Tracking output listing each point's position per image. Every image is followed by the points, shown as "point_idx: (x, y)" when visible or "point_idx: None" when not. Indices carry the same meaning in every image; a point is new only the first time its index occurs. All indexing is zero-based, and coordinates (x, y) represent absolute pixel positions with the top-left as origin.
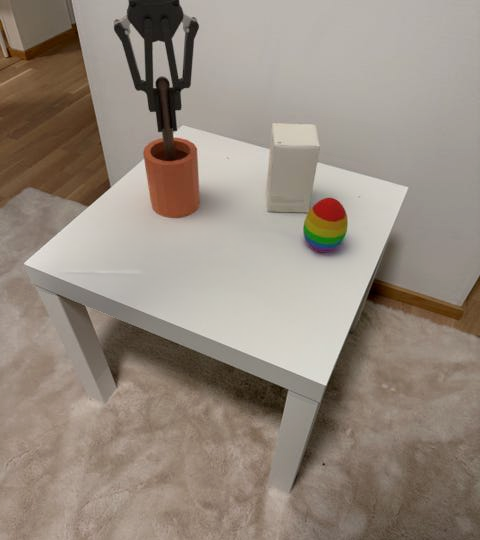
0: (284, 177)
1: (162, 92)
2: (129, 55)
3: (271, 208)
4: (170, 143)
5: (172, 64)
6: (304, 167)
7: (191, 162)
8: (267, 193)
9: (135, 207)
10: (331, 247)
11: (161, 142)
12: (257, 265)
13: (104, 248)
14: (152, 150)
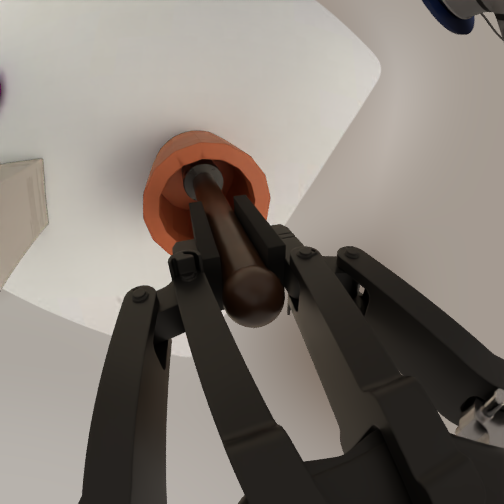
0: None
1: (250, 262)
2: (443, 327)
3: (35, 160)
4: (207, 193)
5: (217, 358)
6: None
7: (155, 167)
8: (38, 191)
9: (263, 162)
10: None
11: None
12: (73, 27)
13: (307, 68)
14: None
